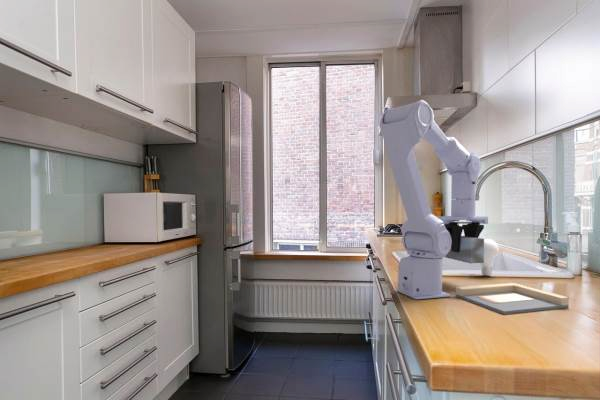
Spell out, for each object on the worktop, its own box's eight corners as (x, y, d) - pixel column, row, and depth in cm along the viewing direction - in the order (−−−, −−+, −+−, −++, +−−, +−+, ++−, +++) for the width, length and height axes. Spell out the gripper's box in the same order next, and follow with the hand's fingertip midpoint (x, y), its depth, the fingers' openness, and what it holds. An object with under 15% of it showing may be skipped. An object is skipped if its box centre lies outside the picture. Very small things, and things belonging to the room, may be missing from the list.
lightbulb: (477, 272, 105) (477, 237, 105) (500, 276, 101) (501, 238, 101) (472, 276, 100) (472, 238, 100) (496, 279, 96) (497, 240, 96)
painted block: (470, 263, 84) (471, 239, 84) (442, 256, 94) (443, 234, 94) (483, 262, 86) (484, 238, 86) (454, 256, 95) (455, 234, 95)
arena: (504, 314, 66) (504, 303, 66) (455, 296, 79) (455, 287, 79) (568, 307, 71) (568, 297, 71) (513, 291, 84) (513, 282, 84)
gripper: (450, 199, 84) (450, 254, 84) (497, 200, 88) (497, 253, 88) (432, 199, 91) (431, 250, 91) (476, 199, 95) (475, 249, 95)
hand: (462, 251), depth 90 cm, fingers closed on painted block, 4 cm apart
